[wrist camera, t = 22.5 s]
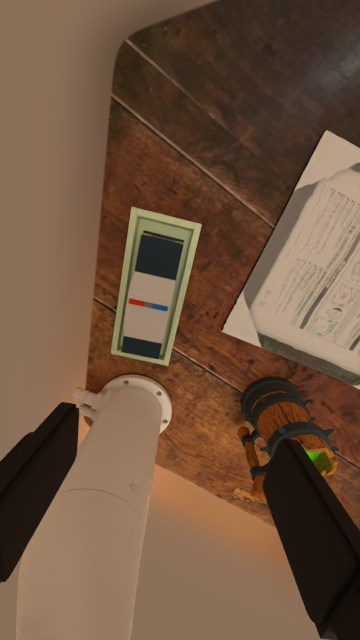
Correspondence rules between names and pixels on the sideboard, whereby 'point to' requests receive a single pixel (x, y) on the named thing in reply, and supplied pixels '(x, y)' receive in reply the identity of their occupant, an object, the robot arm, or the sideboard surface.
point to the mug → (281, 428)
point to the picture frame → (311, 271)
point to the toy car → (151, 294)
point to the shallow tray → (190, 236)
